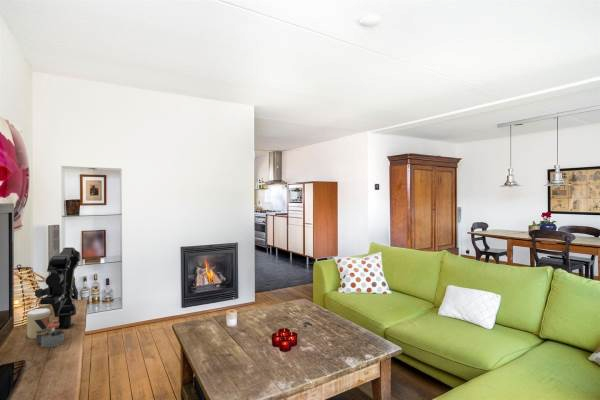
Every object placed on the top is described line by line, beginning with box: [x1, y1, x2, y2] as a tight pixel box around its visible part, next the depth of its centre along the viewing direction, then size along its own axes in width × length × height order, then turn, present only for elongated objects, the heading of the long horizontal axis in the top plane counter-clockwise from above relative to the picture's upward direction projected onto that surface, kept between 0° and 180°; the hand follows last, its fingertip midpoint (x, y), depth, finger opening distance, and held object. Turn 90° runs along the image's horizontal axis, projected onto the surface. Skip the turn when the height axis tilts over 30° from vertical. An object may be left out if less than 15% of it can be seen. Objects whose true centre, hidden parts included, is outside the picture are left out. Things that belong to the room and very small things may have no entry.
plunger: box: [48, 321, 59, 335], centre depth 154 cm, size 4×4×5 cm
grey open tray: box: [35, 330, 65, 348], centre depth 154 cm, size 8×11×4 cm
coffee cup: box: [26, 308, 51, 339], centre depth 163 cm, size 9×9×12 cm
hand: (56, 314), depth 158 cm, fingers closed
